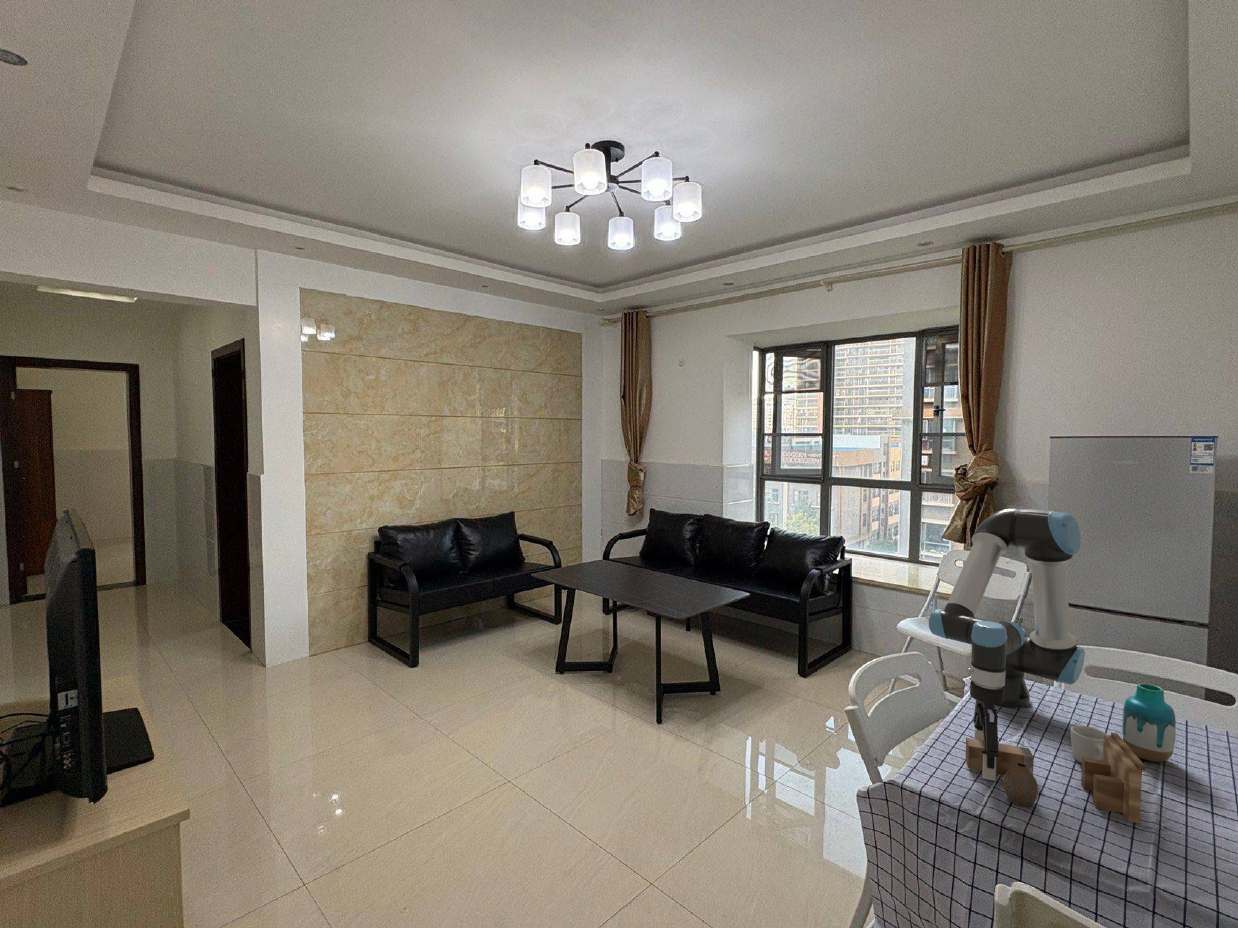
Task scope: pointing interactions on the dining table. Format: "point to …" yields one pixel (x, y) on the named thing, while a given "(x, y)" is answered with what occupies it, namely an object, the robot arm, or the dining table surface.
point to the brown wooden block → (1003, 762)
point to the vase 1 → (1020, 785)
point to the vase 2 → (1149, 724)
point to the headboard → (1115, 778)
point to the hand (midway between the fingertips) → (984, 766)
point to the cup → (1087, 742)
